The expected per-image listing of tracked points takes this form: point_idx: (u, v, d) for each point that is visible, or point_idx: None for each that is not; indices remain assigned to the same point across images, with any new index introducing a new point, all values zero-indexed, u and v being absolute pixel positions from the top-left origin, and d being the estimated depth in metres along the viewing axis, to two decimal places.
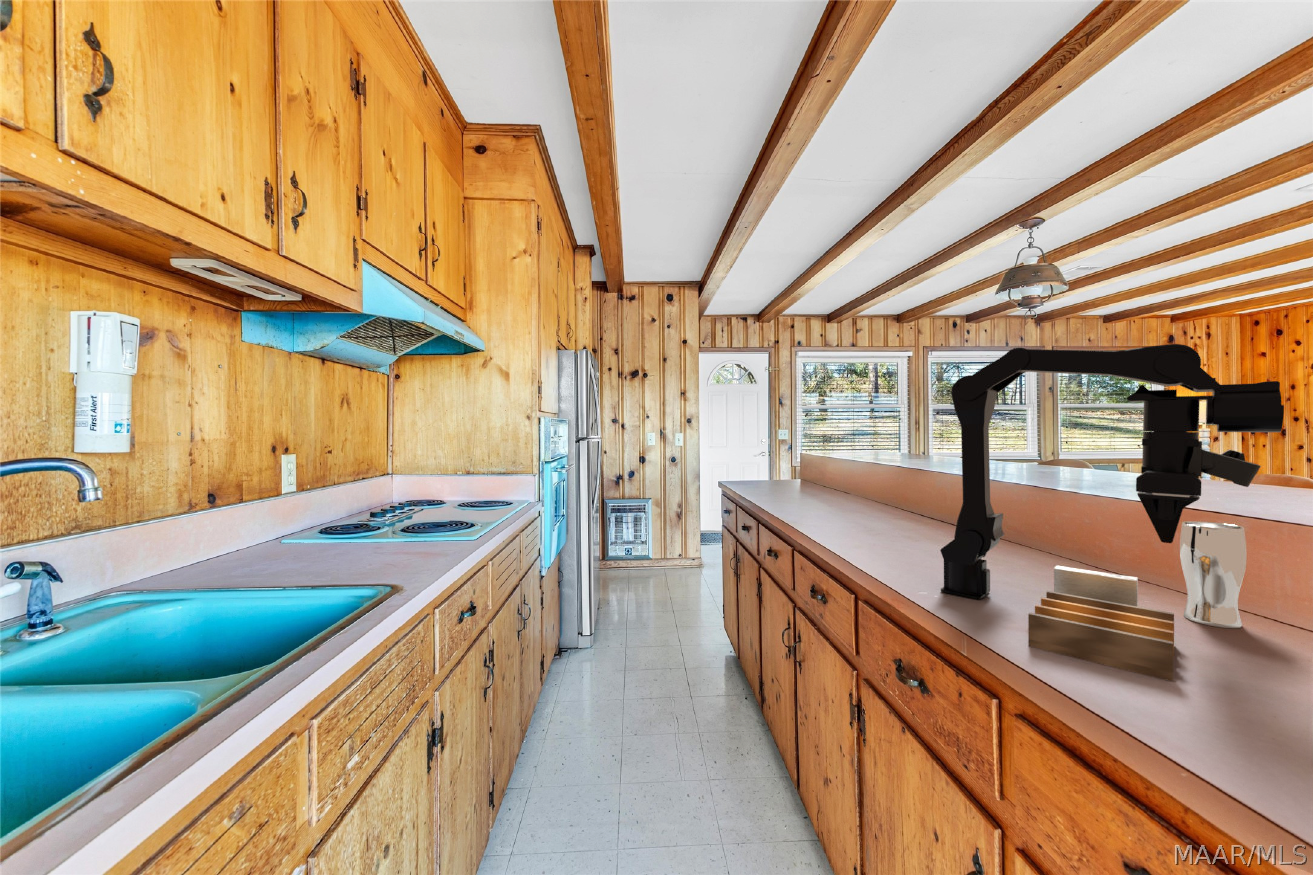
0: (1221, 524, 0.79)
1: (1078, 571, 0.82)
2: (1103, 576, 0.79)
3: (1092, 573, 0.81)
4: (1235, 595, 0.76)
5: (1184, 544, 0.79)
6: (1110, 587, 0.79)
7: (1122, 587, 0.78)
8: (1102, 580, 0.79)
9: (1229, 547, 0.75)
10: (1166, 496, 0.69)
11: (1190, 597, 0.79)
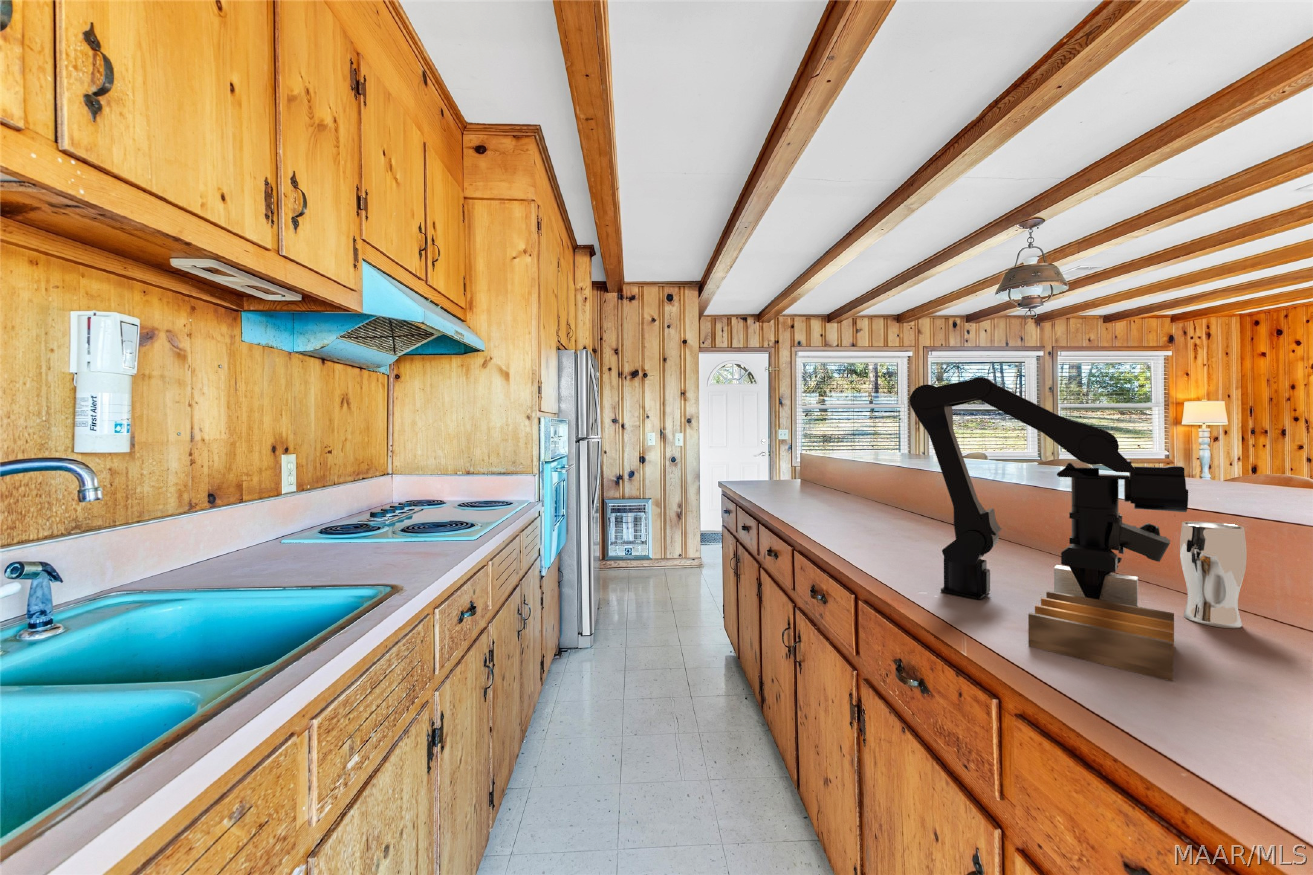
0: (1221, 524, 0.79)
1: None
2: None
3: None
4: (1235, 595, 0.76)
5: (1184, 544, 0.79)
6: (1110, 586, 0.79)
7: (1122, 586, 0.78)
8: None
9: (1229, 547, 0.75)
10: None
11: (1190, 597, 0.79)
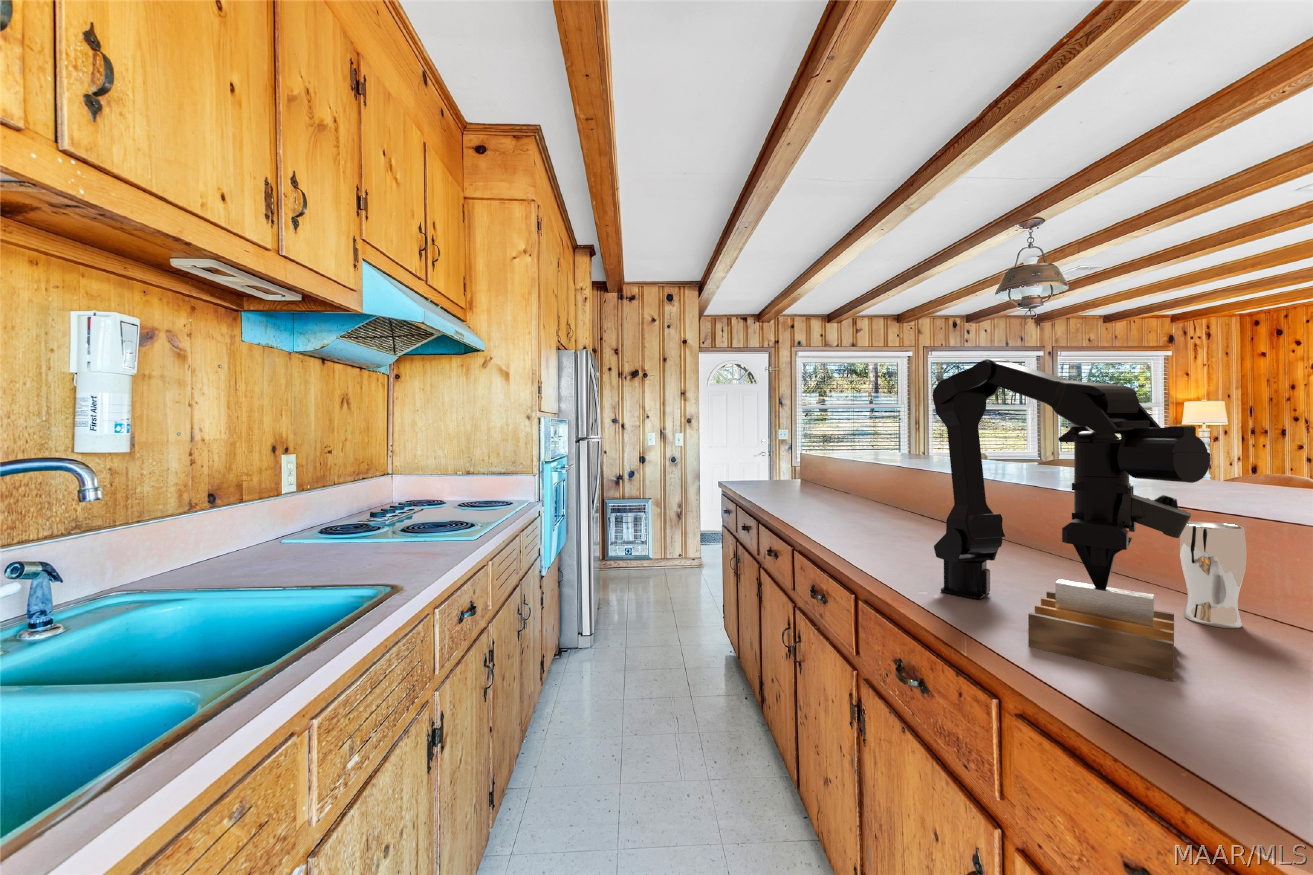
0: (1221, 524, 0.79)
1: (1084, 586, 0.71)
2: (1113, 593, 0.68)
3: (1100, 589, 0.69)
4: (1235, 595, 0.76)
5: (1184, 544, 0.79)
6: (1121, 606, 0.67)
7: (1135, 606, 0.66)
8: (1112, 597, 0.68)
9: (1229, 547, 0.75)
10: None
11: (1190, 597, 0.79)
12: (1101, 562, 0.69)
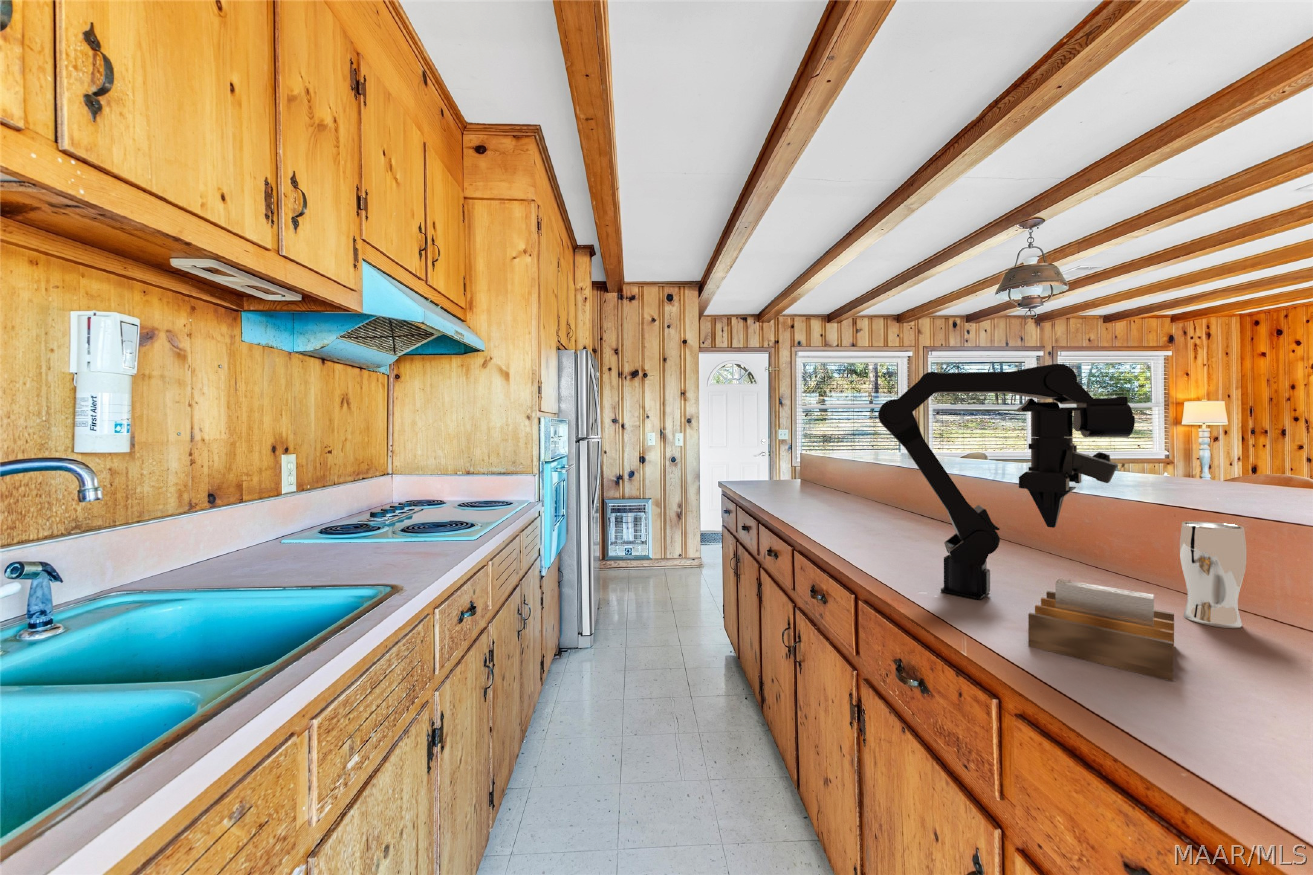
0: (1221, 524, 0.79)
1: (1084, 586, 0.71)
2: (1113, 593, 0.68)
3: (1100, 589, 0.69)
4: (1235, 595, 0.76)
5: (1184, 544, 0.79)
6: (1121, 605, 0.67)
7: (1135, 606, 0.66)
8: (1112, 597, 0.68)
9: (1229, 547, 0.75)
10: (1046, 489, 0.85)
11: (1190, 597, 0.79)
12: (1051, 505, 0.87)
